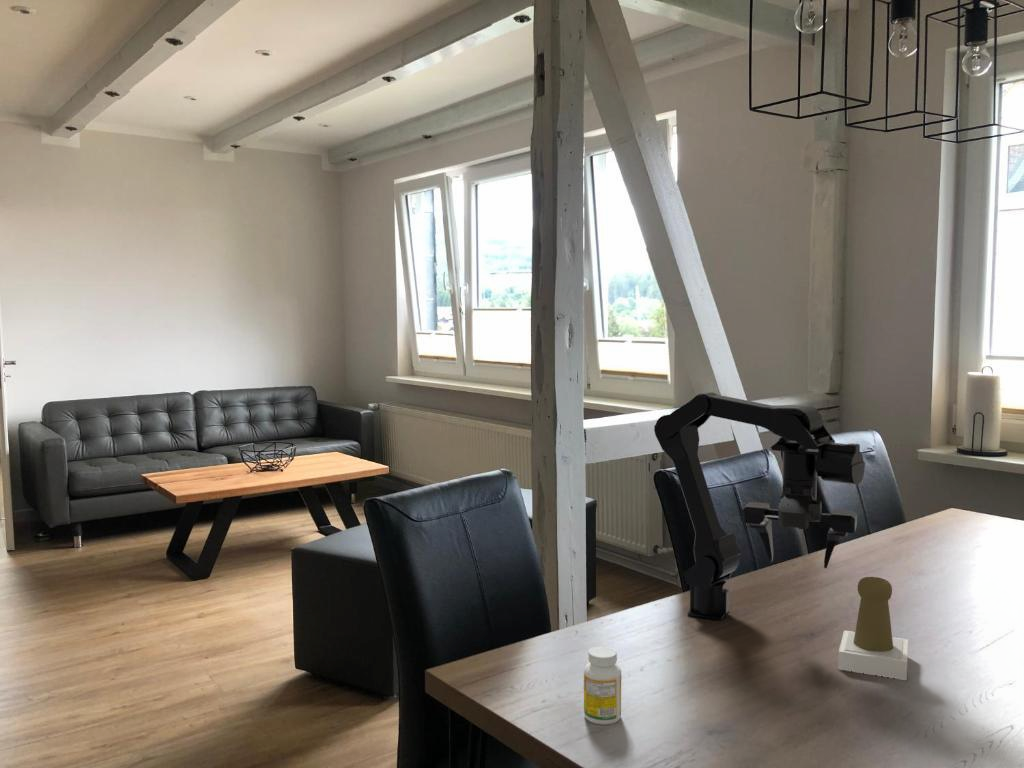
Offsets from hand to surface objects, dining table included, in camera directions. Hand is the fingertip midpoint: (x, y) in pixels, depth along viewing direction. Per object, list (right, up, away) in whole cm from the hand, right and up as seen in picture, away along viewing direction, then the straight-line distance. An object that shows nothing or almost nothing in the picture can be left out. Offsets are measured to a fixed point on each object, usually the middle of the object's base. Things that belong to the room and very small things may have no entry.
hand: (798, 564), depth 150 cm
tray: (+9, -14, -11) cm, 20 cm away
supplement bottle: (-38, -16, -28) cm, 50 cm away
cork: (+9, -11, -11) cm, 18 cm away
